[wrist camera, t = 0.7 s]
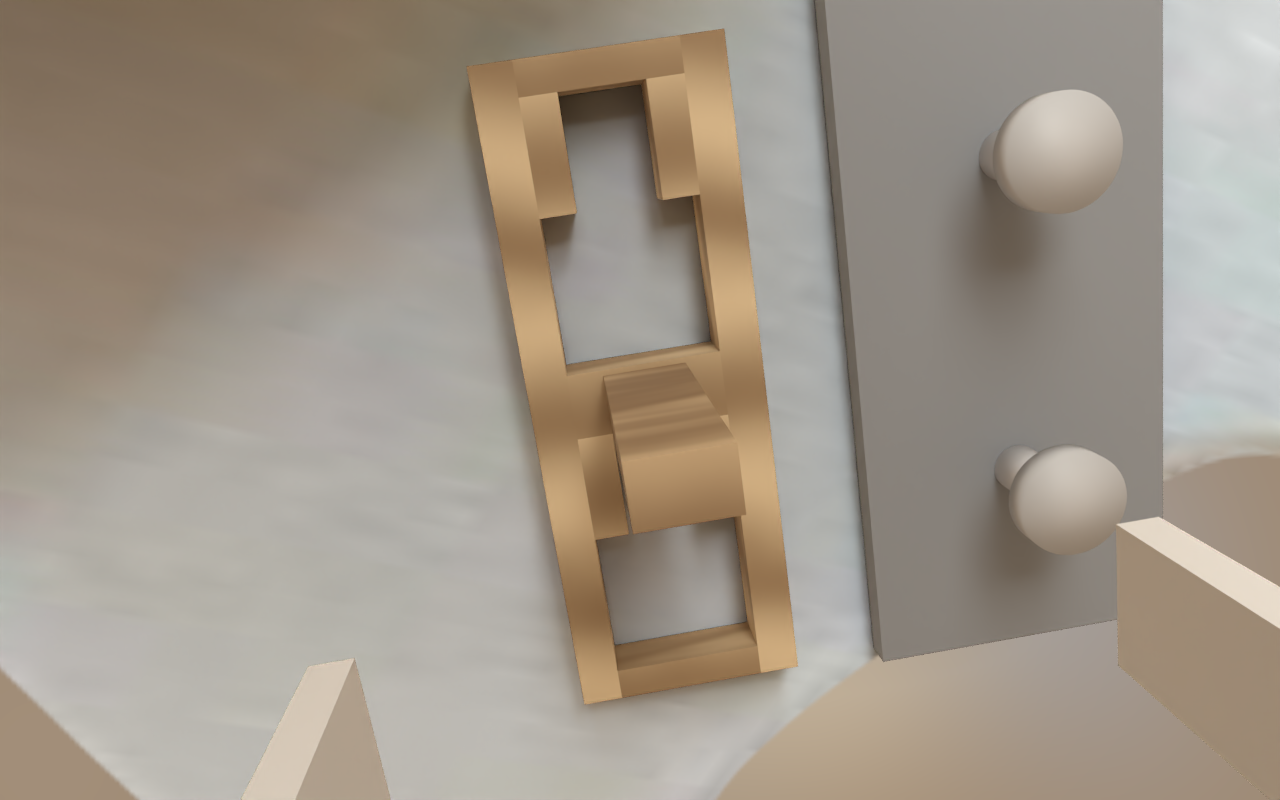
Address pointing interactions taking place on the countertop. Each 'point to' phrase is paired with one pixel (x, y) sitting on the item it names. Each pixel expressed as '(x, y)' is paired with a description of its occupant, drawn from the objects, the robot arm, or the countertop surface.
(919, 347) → the board
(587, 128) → the countertop surface
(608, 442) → the ball track frame
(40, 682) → the countertop surface
